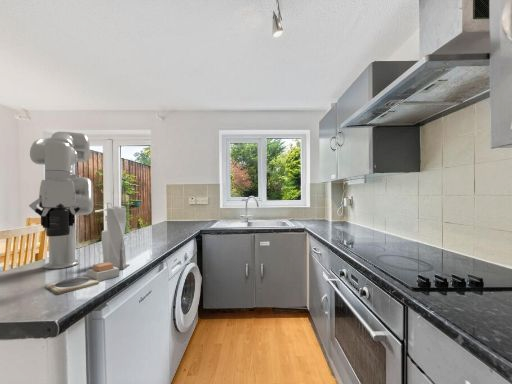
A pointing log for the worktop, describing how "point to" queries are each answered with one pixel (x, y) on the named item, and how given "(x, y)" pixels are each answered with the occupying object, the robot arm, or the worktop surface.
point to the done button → (102, 266)
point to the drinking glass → (105, 245)
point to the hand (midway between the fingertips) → (58, 226)
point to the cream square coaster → (71, 284)
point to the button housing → (103, 274)
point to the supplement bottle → (58, 221)
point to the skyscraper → (116, 236)
